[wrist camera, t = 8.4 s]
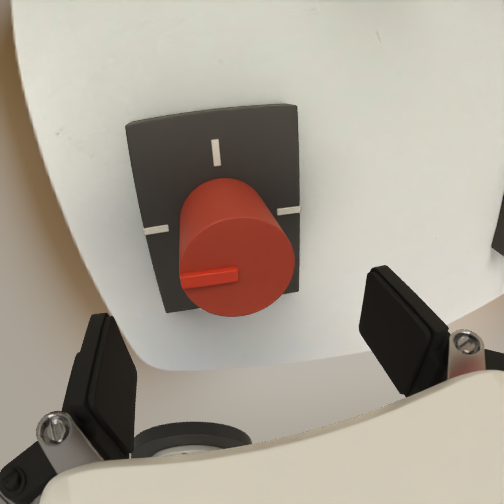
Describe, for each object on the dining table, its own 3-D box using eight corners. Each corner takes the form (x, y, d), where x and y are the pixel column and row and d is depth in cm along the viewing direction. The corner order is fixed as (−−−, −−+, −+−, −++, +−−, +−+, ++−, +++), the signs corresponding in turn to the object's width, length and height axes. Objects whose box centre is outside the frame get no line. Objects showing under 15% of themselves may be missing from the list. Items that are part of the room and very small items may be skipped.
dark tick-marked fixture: (290, 275, 23) (299, 293, 21) (166, 295, 22) (165, 315, 20) (286, 103, 17) (298, 105, 15) (131, 121, 16) (124, 125, 14)
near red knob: (264, 173, 17) (298, 213, 12) (266, 251, 19) (295, 311, 14) (174, 183, 16) (169, 228, 11) (186, 262, 18) (189, 328, 13)
